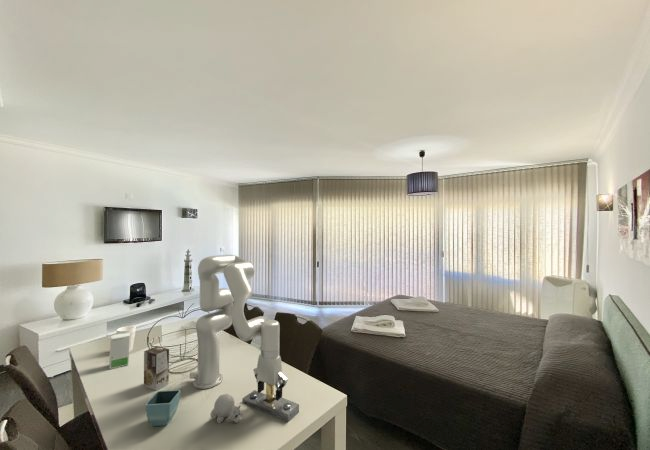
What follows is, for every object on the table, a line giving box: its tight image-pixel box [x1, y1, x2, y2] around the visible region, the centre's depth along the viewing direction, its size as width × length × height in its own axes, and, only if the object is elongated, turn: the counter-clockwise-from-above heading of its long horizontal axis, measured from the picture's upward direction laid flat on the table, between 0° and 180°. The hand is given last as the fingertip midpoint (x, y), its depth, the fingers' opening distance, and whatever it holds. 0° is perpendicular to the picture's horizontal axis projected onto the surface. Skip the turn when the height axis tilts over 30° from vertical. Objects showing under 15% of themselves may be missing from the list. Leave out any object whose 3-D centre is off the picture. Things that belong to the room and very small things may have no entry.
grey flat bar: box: [241, 389, 300, 423], centre depth 110 cm, size 24×7×3 cm, turn 59°
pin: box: [265, 383, 275, 403], centre depth 110 cm, size 3×3×10 cm
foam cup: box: [116, 325, 137, 352], centre depth 163 cm, size 10×9×13 cm
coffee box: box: [143, 345, 170, 391], centre depth 126 cm, size 9×6×16 cm
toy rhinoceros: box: [210, 393, 243, 424], centre depth 102 cm, size 7×12×8 cm, turn 70°
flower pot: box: [144, 389, 181, 427], centre depth 101 cm, size 9×9×9 cm
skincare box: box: [108, 333, 130, 370], centre depth 145 cm, size 8×7×16 cm
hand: (269, 394), depth 110 cm, fingers open, 9 cm apart
